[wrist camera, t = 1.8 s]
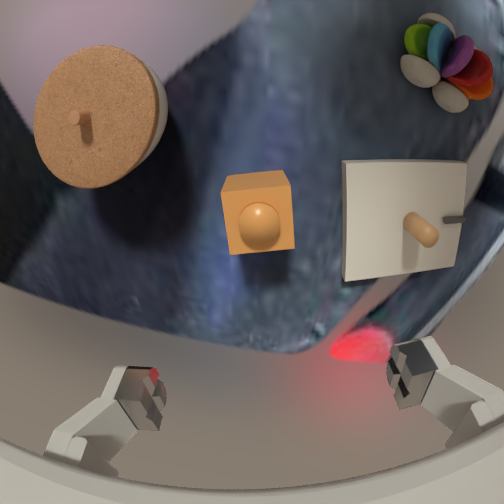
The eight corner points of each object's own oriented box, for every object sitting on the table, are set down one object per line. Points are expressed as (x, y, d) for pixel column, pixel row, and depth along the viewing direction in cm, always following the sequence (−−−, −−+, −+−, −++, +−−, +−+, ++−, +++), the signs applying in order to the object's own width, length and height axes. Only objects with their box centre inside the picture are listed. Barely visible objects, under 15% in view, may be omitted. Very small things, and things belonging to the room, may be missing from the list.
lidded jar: (96, 182, 27) (43, 213, 18) (70, 86, 22) (9, 86, 14) (195, 149, 26) (167, 168, 17) (167, 42, 21) (128, 14, 13)
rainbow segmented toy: (451, 122, 24) (496, 131, 17) (380, 65, 22) (418, 55, 15) (476, 65, 20) (520, 63, 14) (410, 7, 18) (448, -12, 12)
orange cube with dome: (227, 175, 27) (219, 195, 21) (282, 169, 26) (291, 188, 20) (234, 226, 29) (229, 259, 23) (286, 221, 29) (295, 253, 23)
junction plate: (341, 160, 26) (361, 172, 21) (460, 160, 25) (491, 172, 20) (341, 274, 31) (355, 304, 26) (448, 260, 30) (472, 283, 26)
